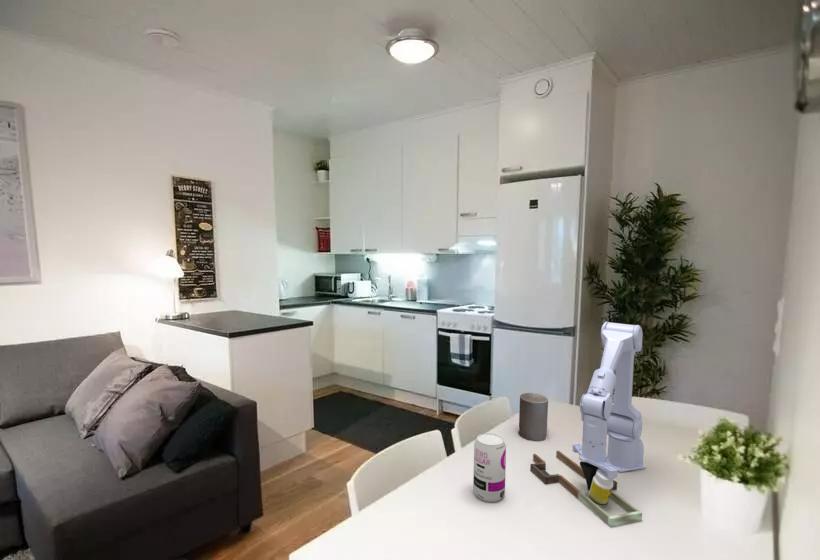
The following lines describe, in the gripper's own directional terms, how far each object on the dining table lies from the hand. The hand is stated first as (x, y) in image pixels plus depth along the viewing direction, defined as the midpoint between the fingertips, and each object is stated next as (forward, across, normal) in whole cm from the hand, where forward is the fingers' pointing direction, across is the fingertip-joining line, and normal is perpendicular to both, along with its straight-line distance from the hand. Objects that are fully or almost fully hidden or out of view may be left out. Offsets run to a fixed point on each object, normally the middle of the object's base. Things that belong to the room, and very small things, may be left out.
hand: (592, 490), depth 107 cm
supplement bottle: (+1, +2, 0) cm, 3 cm away
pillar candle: (+2, -37, +5) cm, 37 cm away
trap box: (+2, -5, 0) cm, 5 cm away
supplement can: (+2, -8, -26) cm, 27 cm away
